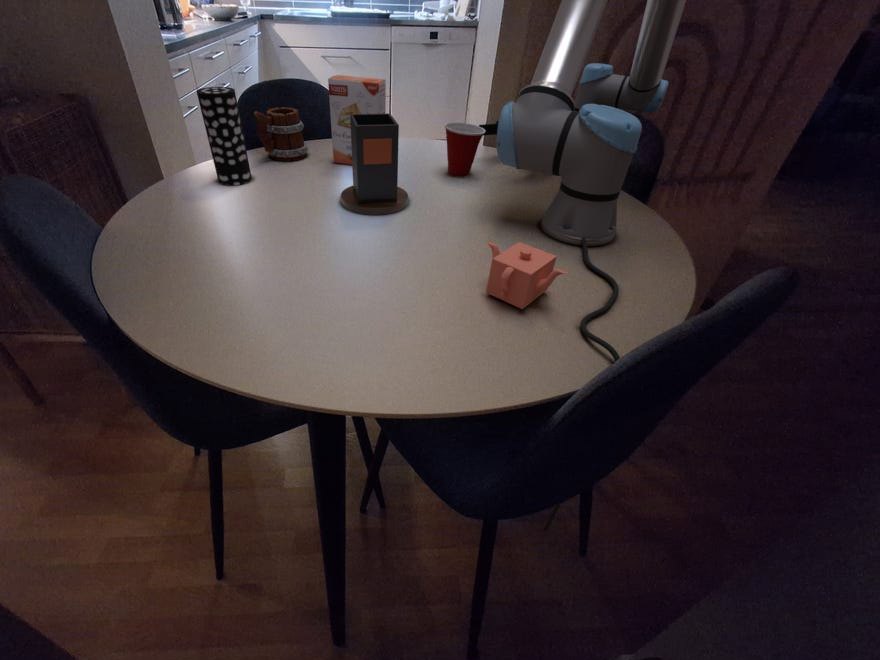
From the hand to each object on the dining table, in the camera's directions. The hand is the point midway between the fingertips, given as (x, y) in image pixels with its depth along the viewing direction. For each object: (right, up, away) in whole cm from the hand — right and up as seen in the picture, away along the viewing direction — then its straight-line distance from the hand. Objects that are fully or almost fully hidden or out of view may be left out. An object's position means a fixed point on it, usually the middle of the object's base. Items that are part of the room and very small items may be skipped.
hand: (491, 136), depth 118 cm
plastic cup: (-8, -9, +3) cm, 13 cm away
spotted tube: (-68, -14, -5) cm, 69 cm away
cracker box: (-37, -4, +8) cm, 38 cm away
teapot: (-5, -49, -42) cm, 65 cm away
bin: (-31, -21, -14) cm, 40 cm away
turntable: (-31, -22, -13) cm, 40 cm away
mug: (-59, -1, +10) cm, 60 cm away
